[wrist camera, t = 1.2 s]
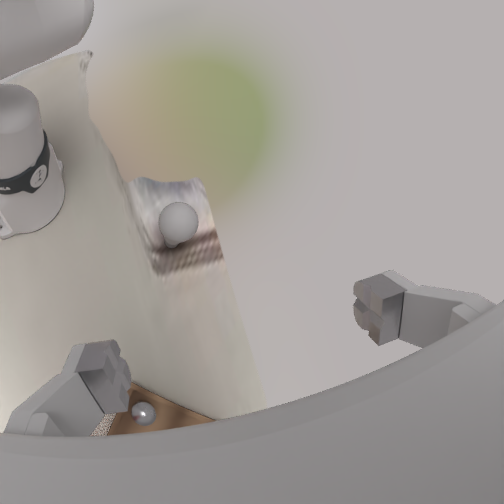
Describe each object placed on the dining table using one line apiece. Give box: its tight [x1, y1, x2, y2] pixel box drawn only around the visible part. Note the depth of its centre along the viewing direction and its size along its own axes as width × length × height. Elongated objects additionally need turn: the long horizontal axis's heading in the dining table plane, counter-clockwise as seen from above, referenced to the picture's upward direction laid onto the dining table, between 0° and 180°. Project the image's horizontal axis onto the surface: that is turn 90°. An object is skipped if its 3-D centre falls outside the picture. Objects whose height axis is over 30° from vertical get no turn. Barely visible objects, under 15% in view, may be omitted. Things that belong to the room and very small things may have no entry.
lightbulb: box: [159, 202, 198, 248], centre depth 47 cm, size 6×6×11 cm
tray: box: [107, 382, 216, 435], centre depth 37 cm, size 16×13×2 cm
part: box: [132, 401, 156, 426], centre depth 37 cm, size 4×4×3 cm
